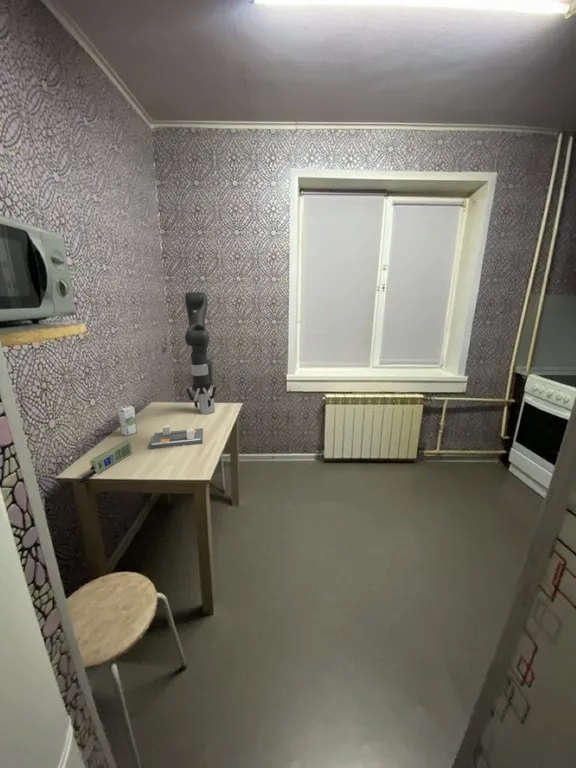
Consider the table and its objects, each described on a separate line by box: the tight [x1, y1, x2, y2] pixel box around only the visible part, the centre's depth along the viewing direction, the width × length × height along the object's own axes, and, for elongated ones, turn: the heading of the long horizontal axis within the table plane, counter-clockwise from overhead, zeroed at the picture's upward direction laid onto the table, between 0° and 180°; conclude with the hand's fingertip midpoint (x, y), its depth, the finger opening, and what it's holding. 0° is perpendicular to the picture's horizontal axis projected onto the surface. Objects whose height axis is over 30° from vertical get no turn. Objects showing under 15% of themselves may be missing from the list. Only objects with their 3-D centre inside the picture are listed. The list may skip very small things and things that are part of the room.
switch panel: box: [149, 427, 204, 450], centre depth 158 cm, size 15×24×2 cm, turn 104°
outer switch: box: [186, 427, 195, 439], centre depth 155 cm, size 4×3×4 cm
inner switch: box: [162, 424, 172, 435], centre depth 160 cm, size 4×3×4 cm
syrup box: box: [117, 405, 138, 437], centre depth 165 cm, size 6×6×14 cm
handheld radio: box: [80, 439, 132, 482], centre depth 133 cm, size 7×3×25 cm
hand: (202, 407), depth 153 cm, fingers open, 5 cm apart
